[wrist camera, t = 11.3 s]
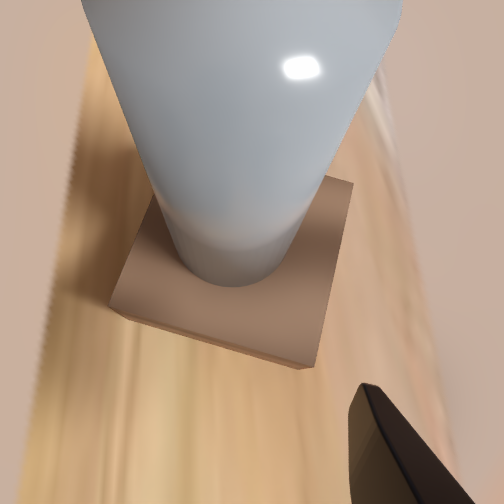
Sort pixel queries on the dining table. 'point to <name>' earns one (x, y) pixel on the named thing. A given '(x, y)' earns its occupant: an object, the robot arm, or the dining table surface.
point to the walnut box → (240, 288)
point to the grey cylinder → (239, 113)
